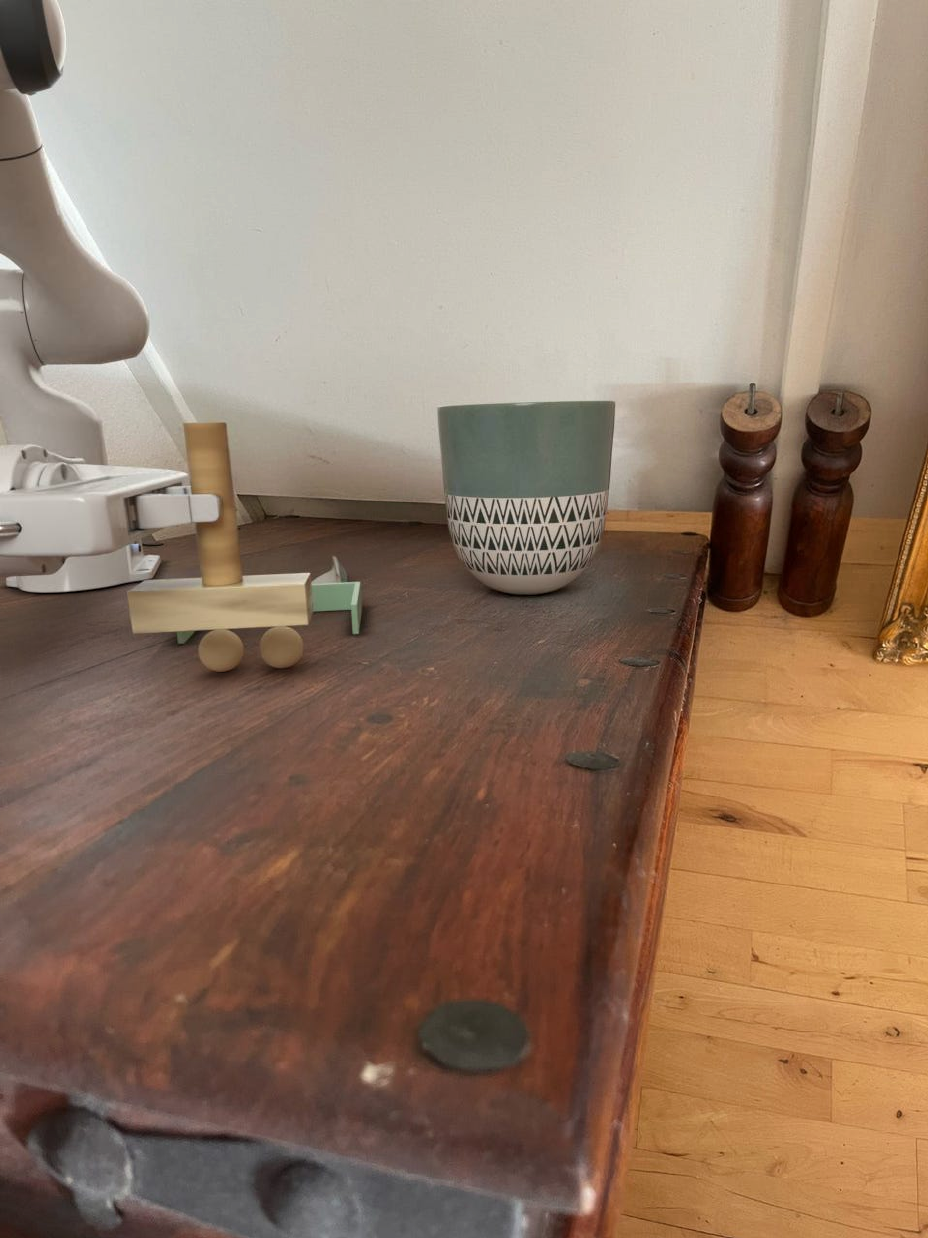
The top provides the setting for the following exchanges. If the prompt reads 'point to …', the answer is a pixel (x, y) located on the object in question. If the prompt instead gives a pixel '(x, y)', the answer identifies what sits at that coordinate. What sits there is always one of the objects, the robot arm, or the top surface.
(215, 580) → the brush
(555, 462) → the planter
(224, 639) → the cork ball
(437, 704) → the top surface
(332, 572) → the ceramic fragment
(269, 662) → the cork ball
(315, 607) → the dustpan
